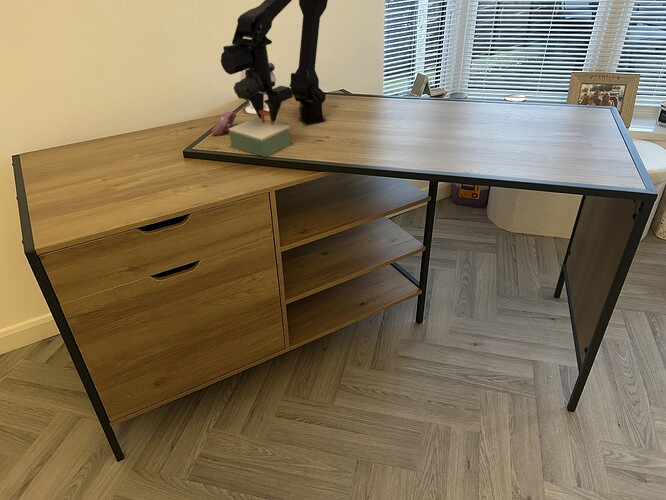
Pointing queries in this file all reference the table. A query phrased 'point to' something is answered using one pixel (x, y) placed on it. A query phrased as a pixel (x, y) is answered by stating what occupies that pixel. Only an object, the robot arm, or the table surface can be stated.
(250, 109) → the panda figurine
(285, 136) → the box
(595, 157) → the table surface
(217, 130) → the purple oblong lump
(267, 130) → the lid
